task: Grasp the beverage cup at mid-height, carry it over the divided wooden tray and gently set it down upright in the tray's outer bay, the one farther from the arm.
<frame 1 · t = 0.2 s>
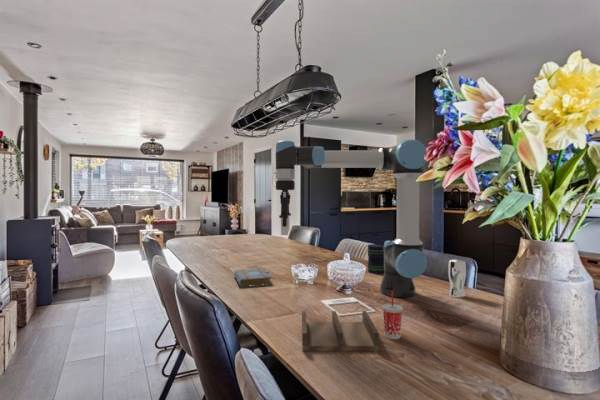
hand: (285, 233, 137), 28 cm above the table, tool pointing down, fingers open, 13 cm apart
book: (252, 282, 173), on the table
divided wooden tray: (337, 337, 103), on the table
beverage cup: (392, 336, 104), on the table
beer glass: (456, 296, 146), on the table
photo frame: (346, 308, 132), on the table
storage jar: (376, 272, 192), on the table
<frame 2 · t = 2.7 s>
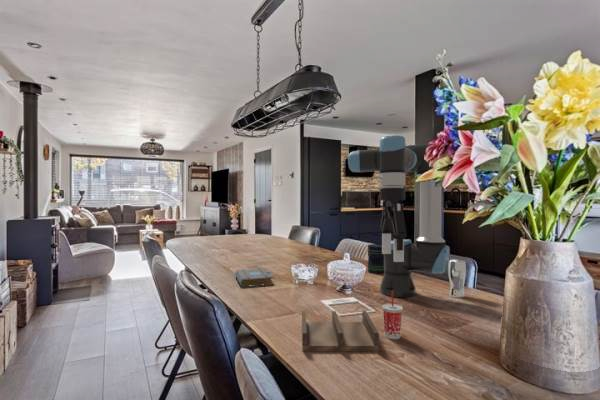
hand: (392, 257, 104), 24 cm above the table, tool pointing down, fingers open, 13 cm apart
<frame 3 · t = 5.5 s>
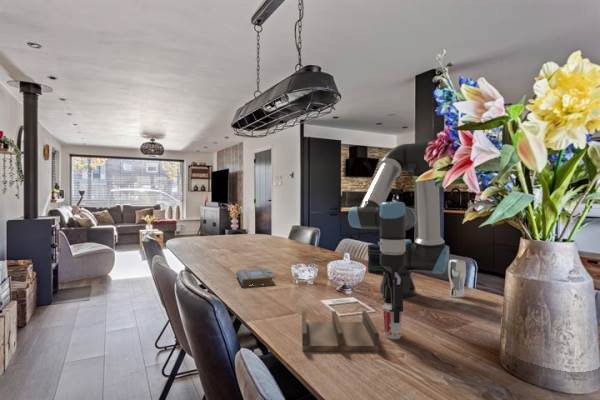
hand: (392, 328, 104), 2 cm above the table, tool pointing down, fingers closed on beverage cup, 6 cm apart
beverage cup: (392, 336, 104), on the table, touching gripper
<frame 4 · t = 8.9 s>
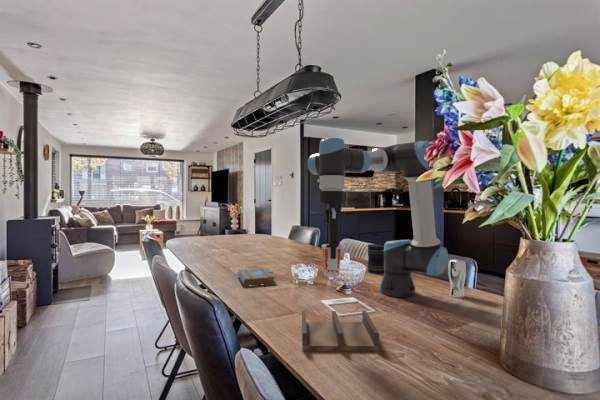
hand: (331, 267, 103), 21 cm above the table, tool pointing down, fingers closed on beverage cup, 6 cm apart
beverage cup: (331, 275, 103), point 19 cm above the table, touching gripper
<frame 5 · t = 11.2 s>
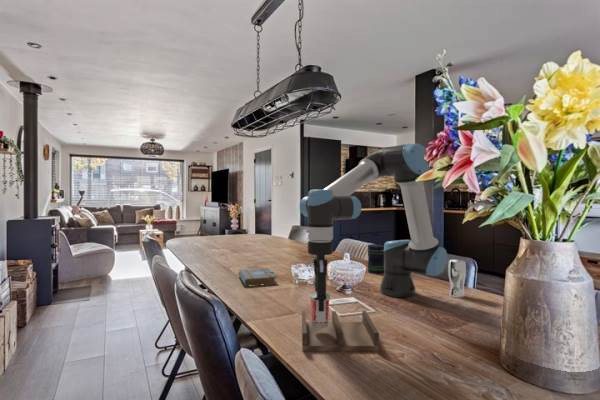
hand: (320, 317, 103), 6 cm above the table, tool pointing down, fingers closed on beverage cup, 6 cm apart
beverage cup: (320, 325, 103), point 4 cm above the table, touching gripper
when the fingers open (4 cm above the table, at t = 12.4 s): beverage cup stays where it is, resting on divided wooden tray.
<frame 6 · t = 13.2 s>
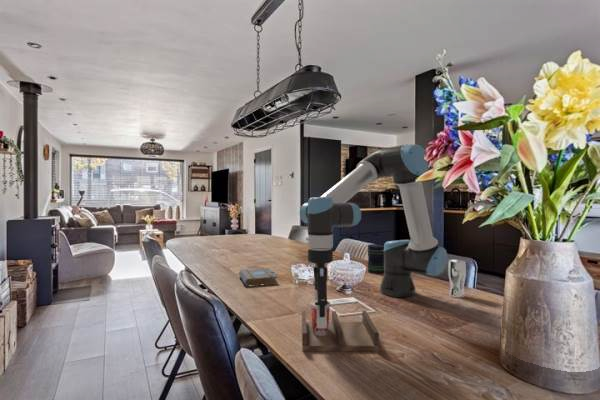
hand: (320, 318, 103), 6 cm above the table, tool pointing down, fingers open, 13 cm apart
beverage cup: (320, 333, 103), point 1 cm above the table, touching divided wooden tray
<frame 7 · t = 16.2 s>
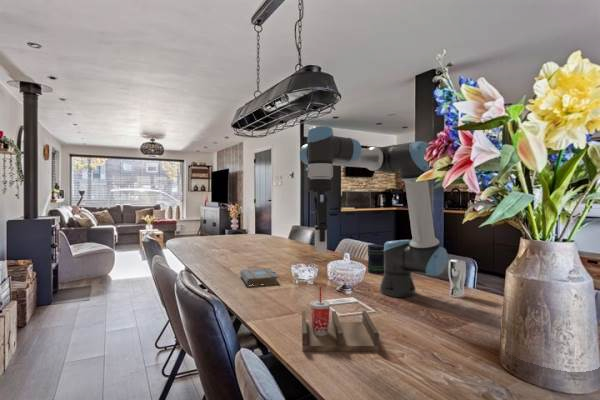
hand: (320, 249, 103), 27 cm above the table, tool pointing down, fingers open, 13 cm apart
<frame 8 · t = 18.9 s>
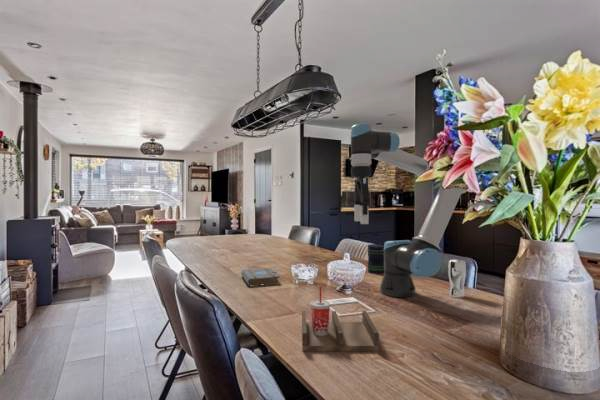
hand: (361, 222, 129), 33 cm above the table, tool pointing down, fingers open, 13 cm apart
at the end: beverage cup inside the target area on the divided wooden tray (0.0 cm from its centre), point 1.3 cm above the divided wooden tray's base; beverage cup tilted 0°; the gripper is holding nothing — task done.
